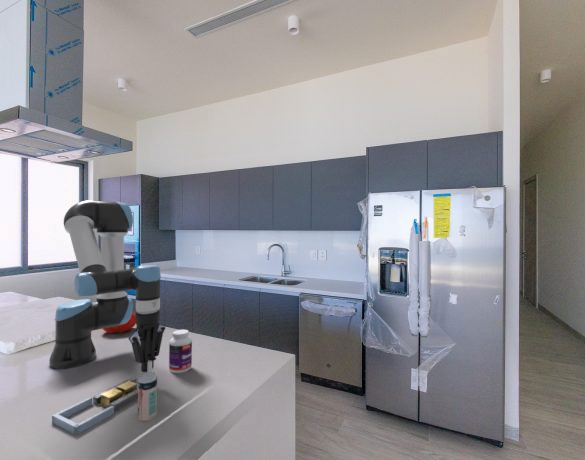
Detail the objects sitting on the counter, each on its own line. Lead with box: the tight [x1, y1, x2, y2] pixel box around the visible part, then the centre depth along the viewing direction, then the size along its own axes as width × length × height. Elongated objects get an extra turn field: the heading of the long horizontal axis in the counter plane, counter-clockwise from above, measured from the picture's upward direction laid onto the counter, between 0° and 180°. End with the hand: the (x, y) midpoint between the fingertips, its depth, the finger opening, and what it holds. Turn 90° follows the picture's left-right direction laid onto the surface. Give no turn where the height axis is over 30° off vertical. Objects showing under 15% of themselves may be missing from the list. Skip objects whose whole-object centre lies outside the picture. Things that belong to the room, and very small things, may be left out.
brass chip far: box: [117, 381, 138, 397], centre depth 95 cm, size 4×4×3 cm
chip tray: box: [51, 396, 115, 436], centre depth 83 cm, size 11×10×2 cm
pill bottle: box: [168, 329, 193, 374], centre depth 113 cm, size 8×8×14 cm
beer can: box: [137, 371, 158, 422], centre depth 85 cm, size 5×5×12 cm
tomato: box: [102, 311, 136, 334], centre depth 154 cm, size 14×16×10 cm
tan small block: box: [101, 388, 122, 407], centre depth 91 cm, size 4×4×3 cm
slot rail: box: [92, 377, 138, 413], centre depth 94 cm, size 10×13×2 cm
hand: (147, 379), depth 102 cm, fingers closed
